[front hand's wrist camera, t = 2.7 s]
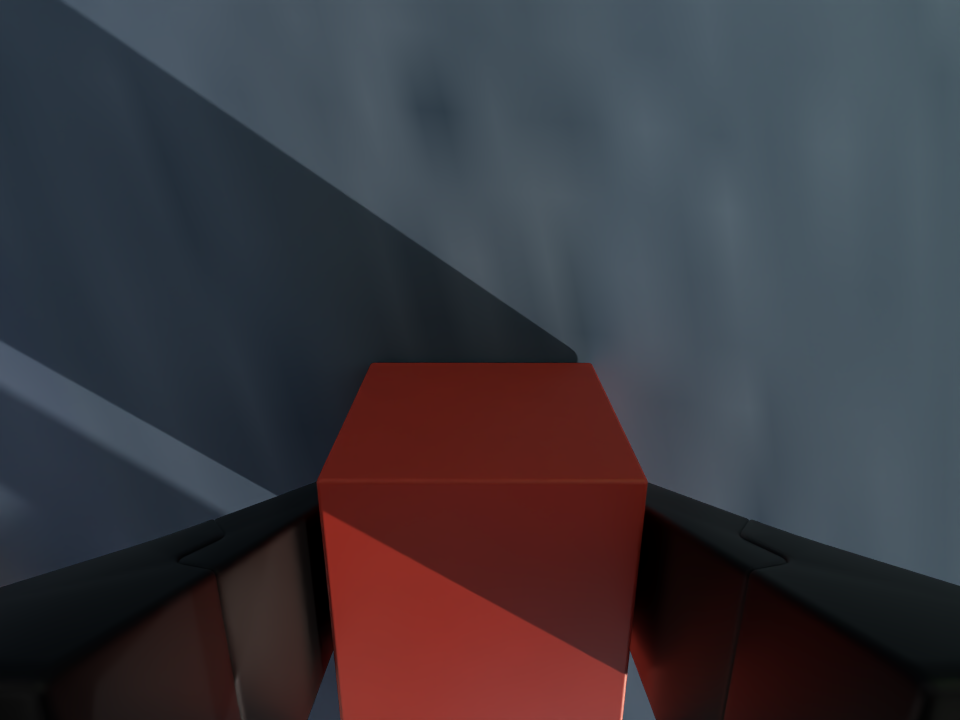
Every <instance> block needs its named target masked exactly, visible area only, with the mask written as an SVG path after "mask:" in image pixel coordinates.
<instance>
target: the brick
mask: <svg viewBox="0 0 960 720" xmlns="http://www.w3.org/2000/svg"><path fill="white" fill-rule="evenodd" d="M316 483H317V493H318V503H319V513H320V522H321V532H322V542H323V552H324V562H325V571H326V581H327V591H328V601H329V611H330V621H331V630H332V640H333V650H334V660H335V670H336V679H337V689H338V699H339V709H340V719H341V720H622V718H623V709H624V700H625V690H626V681H627V672H628V662H629V653H630V644H631V634H632V625H633V616H634V606H635V597H636V588H637V579H638V569H639V560H640V551H641V541H642V532H643V523H644V513H645V504H646V495H647V485H648V482H647V479H646V477H645V475H644V473H643V471H642V468H641V466H640V464H639V462H638V460H637V458H636V456H635V454H634V452H633V450H632V447H631V445H630V443H629V441H628V439H627V437H626V435H625V433H624V431H623V429H622V427H621V424H620V422H619V420H618V418H617V416H616V414H615V412H614V410H613V408H612V406H611V403H610V401H609V399H608V397H607V395H606V393H605V391H604V389H603V387H602V385H601V383H600V380H599V378H598V376H597V374H596V372H595V370H594V368H593V366H592V364H590V363H372V364H371V365H370V367H369V369H368V371H367V373H366V376H365V378H364V380H363V382H362V384H361V386H360V389H359V391H358V393H357V395H356V397H355V399H354V401H353V404H352V406H351V408H350V410H349V412H348V414H347V417H346V419H345V421H344V423H343V425H342V427H341V430H340V432H339V434H338V436H337V438H336V440H335V442H334V445H333V447H332V449H331V451H330V453H329V455H328V458H327V460H326V462H325V464H324V466H323V468H322V471H321V473H320V475H319V477H318V479H317V482H316Z"/></svg>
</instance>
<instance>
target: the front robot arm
mask: <svg viewBox="0 0 960 720" xmlns="http://www.w3.org/2000/svg"><path fill="white" fill-rule="evenodd" d="M332 652H333V640H332V630H331V621H330V611H329V601H328V591H327V581H326V571H325V562H324V552H323V542H322V532H321V522H320V513H319V503H318V493H317V483H316V482H315V483H312V484H309V485H307V486H304V487H301V488H299V489H296V490H293V491H290V492H288V493H285V494H282V495H280V496H277V497H274V498H271V499H269V500H266V501H263V502H261V503H258V504H255V505H252V506H250V507H247V508H244V509H242V510H239V511H236V512H233V513H231V514H228V515H225V516H223V517H220V518H217V519H215V521H214V520H209V521H207V522H204V523H201V524H198V525H196V526H193V527H190V528H187V529H184V530H181V531H179V532H176V533H173V534H170V535H167V536H164V537H161V538H158V539H155V540H152V541H148V542H145V543H142V544H139V545H136V546H133V547H130V548H127V549H123V550H120V551H117V552H114V553H110V554H107V555H104V556H101V557H98V558H94V559H91V560H88V561H85V562H81V563H78V564H75V565H72V566H69V567H65V568H62V569H59V570H56V571H52V572H49V573H46V574H43V575H40V576H36V577H33V578H30V579H27V580H23V581H20V582H17V583H14V584H11V585H7V586H4V587H1V588H0V720H308V717H309V714H310V712H311V709H312V706H313V703H314V701H315V698H316V695H317V693H318V690H319V687H320V684H321V682H322V679H323V676H324V674H325V671H326V668H327V666H328V663H329V660H330V657H331V655H332ZM630 652H631V654H632V657H633V660H634V662H635V665H636V668H637V670H638V673H639V676H640V678H641V681H642V684H643V686H644V689H645V692H646V694H647V697H648V700H649V702H650V705H651V708H652V710H653V713H654V716H655V718H656V720H960V586H958V585H955V584H952V583H948V582H945V581H942V580H939V579H935V578H932V577H929V576H926V575H922V574H919V573H916V572H913V571H909V570H906V569H903V568H900V567H896V566H893V565H890V564H887V563H883V562H880V561H877V560H874V559H870V558H867V557H864V556H861V555H857V554H854V553H851V552H848V551H844V550H841V549H838V548H835V547H831V546H828V545H825V544H822V543H819V542H816V541H813V540H810V539H807V538H803V537H800V536H797V535H794V534H791V533H788V532H786V531H783V530H780V529H777V528H774V527H771V526H768V525H765V524H763V523H760V522H757V521H754V520H750V521H749V520H748V519H747V518H744V517H741V516H738V515H736V514H733V513H730V512H728V511H725V510H722V509H719V508H717V507H714V506H711V505H708V504H706V503H703V502H700V501H697V500H695V499H692V498H689V497H686V496H684V495H681V494H678V493H675V492H673V491H670V490H667V489H665V488H662V487H659V486H656V485H654V484H651V483H648V485H647V495H646V504H645V513H644V523H643V532H642V541H641V551H640V560H639V569H638V579H637V588H636V597H635V606H634V616H633V625H632V634H631V644H630Z"/></svg>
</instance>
